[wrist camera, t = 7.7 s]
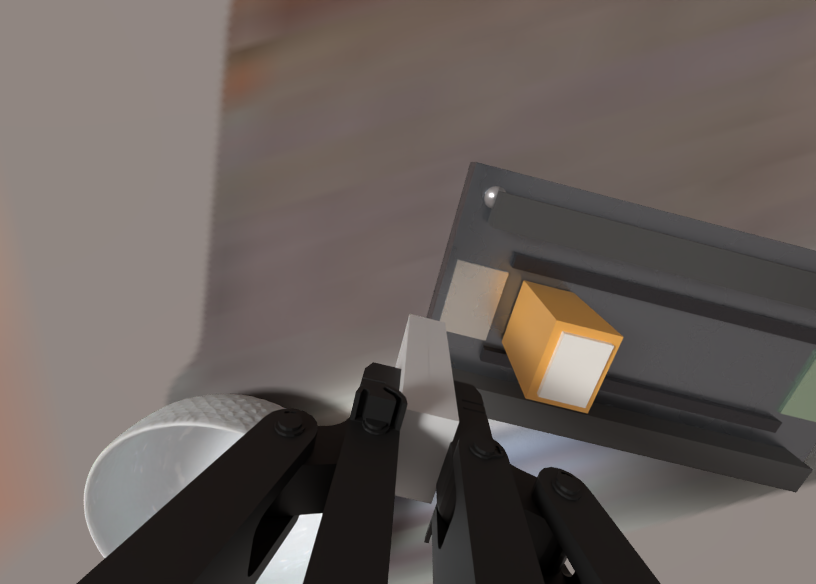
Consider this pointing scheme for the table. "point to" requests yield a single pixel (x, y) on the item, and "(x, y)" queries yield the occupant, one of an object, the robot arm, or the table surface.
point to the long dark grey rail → (653, 249)
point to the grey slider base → (639, 315)
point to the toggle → (558, 347)
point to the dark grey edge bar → (642, 435)
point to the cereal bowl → (180, 474)
